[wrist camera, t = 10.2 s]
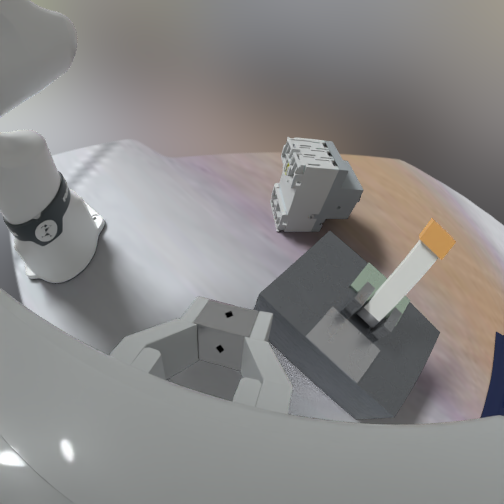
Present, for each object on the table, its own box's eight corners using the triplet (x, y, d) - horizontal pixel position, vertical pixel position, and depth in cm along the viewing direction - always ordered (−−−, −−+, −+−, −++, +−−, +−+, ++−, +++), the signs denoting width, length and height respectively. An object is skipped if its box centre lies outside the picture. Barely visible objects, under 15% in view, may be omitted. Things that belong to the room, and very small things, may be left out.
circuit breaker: (347, 231, 50) (381, 174, 38) (276, 232, 48) (297, 166, 36) (336, 202, 54) (363, 146, 42) (270, 201, 52) (286, 136, 40)
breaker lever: (352, 315, 28) (433, 220, 22) (357, 306, 31) (431, 217, 24) (371, 333, 27) (455, 242, 20) (375, 323, 30) (452, 237, 23)
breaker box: (249, 321, 38) (264, 278, 27) (309, 266, 45) (338, 213, 34) (355, 419, 31) (413, 415, 20) (401, 351, 38) (456, 323, 26)
